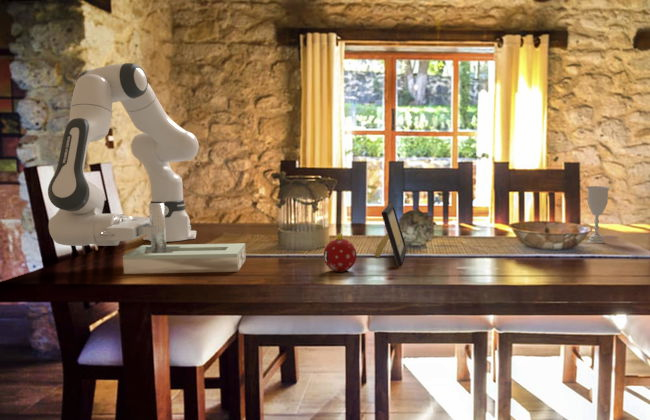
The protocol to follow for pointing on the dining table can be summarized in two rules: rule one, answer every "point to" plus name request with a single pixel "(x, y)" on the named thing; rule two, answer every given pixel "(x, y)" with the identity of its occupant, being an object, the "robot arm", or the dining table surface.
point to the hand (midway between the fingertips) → (161, 228)
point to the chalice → (597, 208)
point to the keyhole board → (186, 259)
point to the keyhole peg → (159, 221)
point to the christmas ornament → (340, 254)
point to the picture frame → (392, 235)
